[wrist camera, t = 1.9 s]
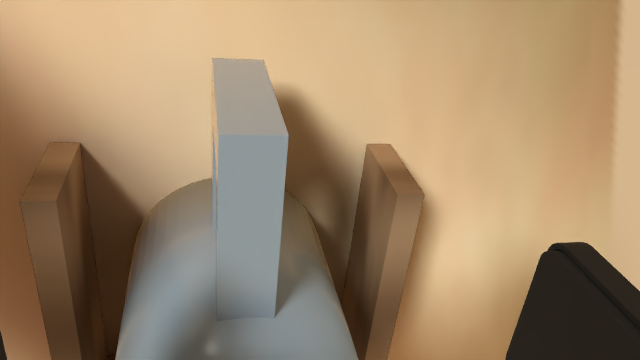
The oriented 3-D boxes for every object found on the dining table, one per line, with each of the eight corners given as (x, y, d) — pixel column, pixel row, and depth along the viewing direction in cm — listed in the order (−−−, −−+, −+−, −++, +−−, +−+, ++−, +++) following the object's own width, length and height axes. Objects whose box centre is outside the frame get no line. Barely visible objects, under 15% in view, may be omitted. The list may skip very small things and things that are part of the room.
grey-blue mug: (113, 32, 18) (53, 155, 11) (343, 42, 20) (433, 155, 12) (139, 328, 25) (114, 534, 17) (310, 317, 27) (355, 500, 19)
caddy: (49, 142, 20) (19, 200, 16) (390, 144, 22) (424, 194, 19) (86, 372, 26) (70, 450, 22) (352, 350, 28) (374, 417, 25)
